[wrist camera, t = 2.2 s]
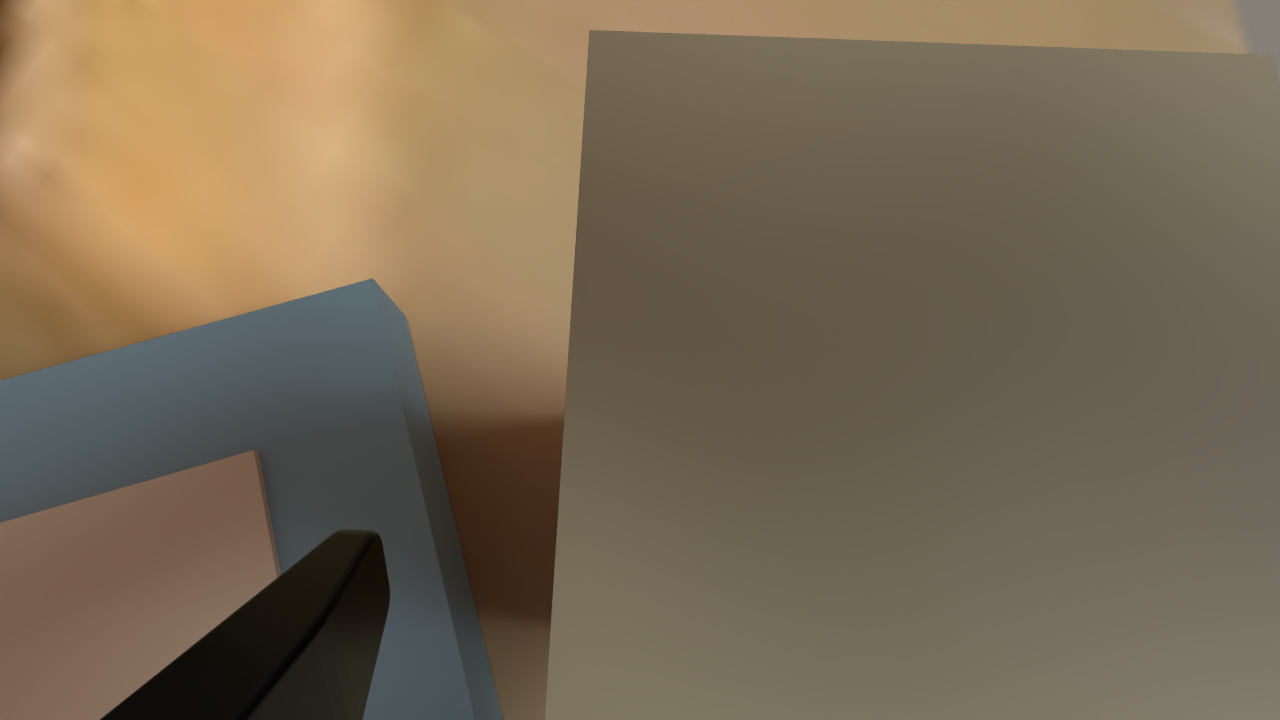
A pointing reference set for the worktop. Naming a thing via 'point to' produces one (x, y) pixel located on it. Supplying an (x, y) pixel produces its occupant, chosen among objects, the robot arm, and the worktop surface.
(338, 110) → the worktop surface
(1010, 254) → the pillar
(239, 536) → the plate
